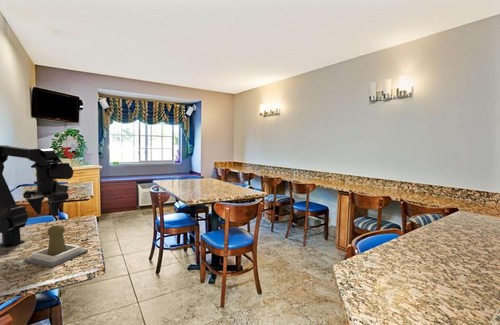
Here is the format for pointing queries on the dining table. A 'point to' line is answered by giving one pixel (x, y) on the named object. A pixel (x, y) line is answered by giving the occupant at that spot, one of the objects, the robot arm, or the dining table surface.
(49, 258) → the grey square tray
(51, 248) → the olive tapered shaker
